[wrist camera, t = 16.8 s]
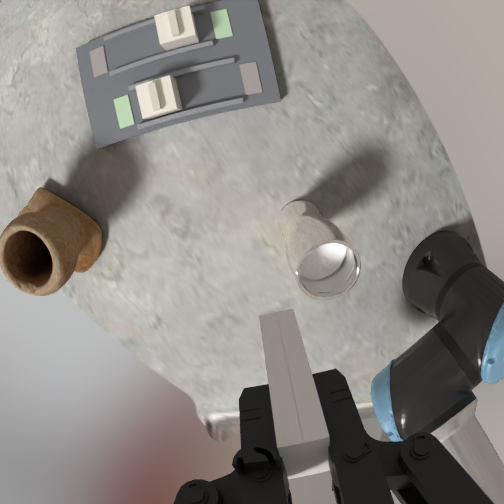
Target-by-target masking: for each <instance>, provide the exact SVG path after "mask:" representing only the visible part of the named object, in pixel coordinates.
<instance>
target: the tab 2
mask: <svg viewBox="0 0 504 504" xmlns="http://www.w3.org/2000/svg"><path fill="white" fill-rule="evenodd" d="M135 87H136V92H137V96H138V101H139V105H140V110H141V114H142V118H143V119H150V118H155V117H158V116H161V115H165V114H168V113H172V112H175V111H179V110H183V108H182V104H181V99H180V95H179V90H178V86H177V81H176V79H175V78H173V77H172V76H170V75H168V76H165V77H162V78H158V79H155V80H152V81H149V82H146V83H143V84H140V85H137V86H135Z"/></svg>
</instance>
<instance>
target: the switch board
mask: <svg viewBox="0 0 504 504" xmlns="http://www.w3.org/2000/svg"><path fill="white" fill-rule="evenodd" d="M190 8H191V11H192V13H193V16H194V21H195V25H196V30H197V34H198V39H199V43H197V44H193V45H189V46H185V47H181V48H178V49H174V50H170V51H166V50H165V49H164V48H163V47H162V46H161V45H160V42H159V37H158V32H157V27H156V22H155V17H154V18H150V19H147V20H144V21H141V22H139V23H136V24H133V25H130V26H127V27H125V28H122V29H119V30H117V31H114V32H112V33H109V34H107V35H105V36H102V37H100V38H97V39H95V40H93V41H91V42H89V43H86V44H84V45H82V46H80V47H78V48H76V52H77V58H78V65H79V70H80V76H81V82H82V87H83V92H84V97H85V102H86V107H87V111H88V116H89V120H90V124H91V129H92V133H93V137H94V141H95V145H96V149H99V148H103V147H105V146H108V145H111V144H114V143H117V142H119V141H122V140H125V139H128V138H131V137H134V136H137V135H141V134H144V133H147V132H150V131H154V130H157V129H160V128H164V127H167V126H171V125H174V124H178V123H182V122H186V121H189V120H193V119H197V118H201V117H205V116H210V115H214V114H218V113H223V112H227V111H232V110H237V109H242V108H247V107H252V106H258V105H263V104H269V103H275V102H280V101H281V99H280V94H279V89H278V84H277V79H276V75H275V70H274V66H273V61H272V57H271V52H270V48H269V44H268V39H267V35H266V31H265V27H264V23H263V19H262V15H261V11H260V7H259V3H258V0H221V1H216V2H211V3H207V4H202V5H198V6H193V7H190ZM168 75H170V76H172V77H173V78H175V79H176V81H177V86H178V90H179V95H180V99H181V104H182V108H183V110H179V111H175V112H172V113H168V114H165V115H161V116H158V117H155V118H150V119H143V118H142V114H141V110H140V105H139V101H138V96H137V92H136V87H135V86H137V85H140V84H143V83H146V82H149V81H152V80H155V79H158V78H162V77H165V76H168Z"/></svg>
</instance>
